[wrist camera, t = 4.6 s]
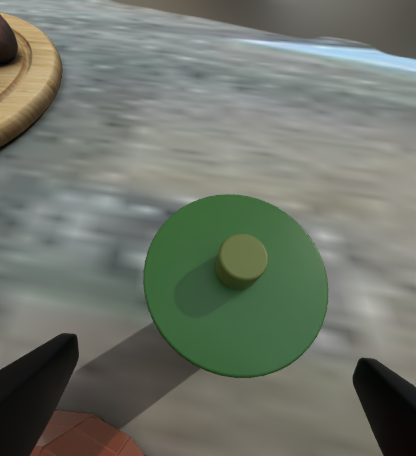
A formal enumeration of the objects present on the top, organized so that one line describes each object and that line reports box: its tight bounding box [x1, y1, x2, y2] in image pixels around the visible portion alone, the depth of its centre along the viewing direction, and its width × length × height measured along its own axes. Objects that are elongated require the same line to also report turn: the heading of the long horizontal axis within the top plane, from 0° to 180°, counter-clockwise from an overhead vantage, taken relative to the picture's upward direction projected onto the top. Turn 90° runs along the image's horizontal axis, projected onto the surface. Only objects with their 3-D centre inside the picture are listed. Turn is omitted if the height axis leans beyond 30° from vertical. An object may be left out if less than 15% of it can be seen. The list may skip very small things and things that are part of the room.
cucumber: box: [144, 195, 328, 378], centre depth 10 cm, size 4×4×13 cm
